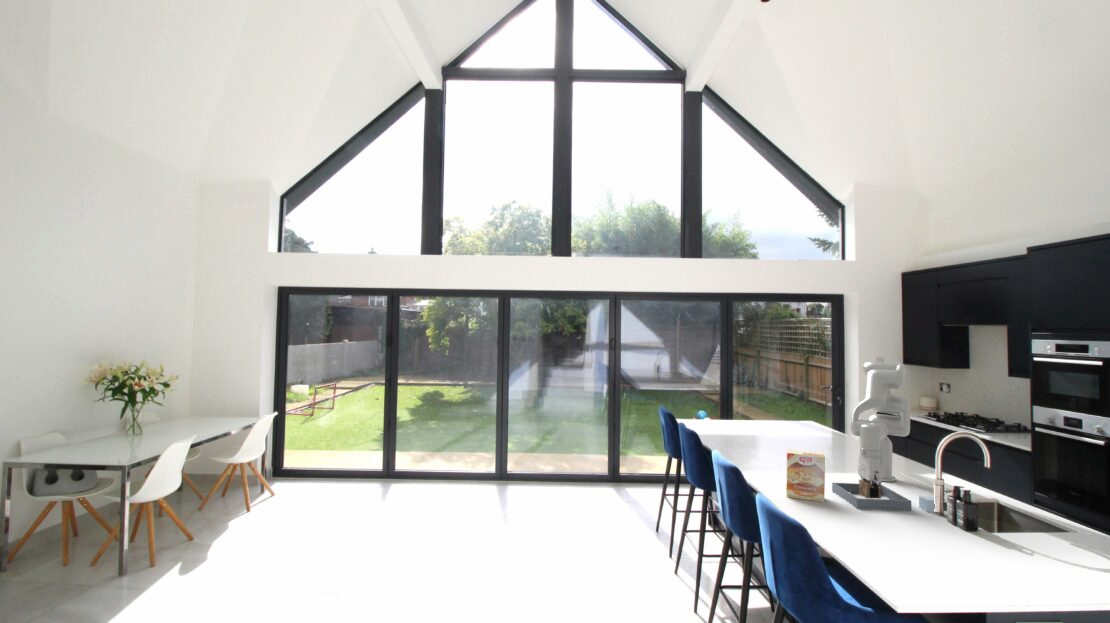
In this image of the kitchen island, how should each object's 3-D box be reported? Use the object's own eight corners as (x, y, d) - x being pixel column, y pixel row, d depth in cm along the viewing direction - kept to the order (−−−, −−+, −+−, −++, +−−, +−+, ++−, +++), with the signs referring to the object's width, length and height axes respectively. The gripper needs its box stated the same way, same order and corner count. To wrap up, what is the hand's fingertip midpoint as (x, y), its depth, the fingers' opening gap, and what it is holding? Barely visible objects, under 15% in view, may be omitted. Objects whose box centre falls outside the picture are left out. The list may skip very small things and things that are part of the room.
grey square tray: (832, 491, 234) (832, 482, 234) (881, 493, 233) (881, 484, 233) (857, 508, 213) (857, 498, 213) (911, 510, 211) (911, 501, 211)
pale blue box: (919, 507, 215) (919, 495, 215) (931, 508, 215) (931, 496, 215) (926, 512, 210) (927, 500, 210) (939, 512, 210) (939, 500, 210)
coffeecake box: (786, 497, 225) (786, 452, 225) (785, 492, 231) (786, 449, 232) (824, 502, 219) (825, 456, 219) (823, 497, 226) (823, 452, 226)
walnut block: (859, 493, 226) (859, 479, 226) (873, 493, 226) (873, 480, 226) (866, 498, 220) (866, 484, 220) (881, 498, 220) (881, 484, 220)
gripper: (851, 447, 232) (850, 487, 232) (872, 457, 215) (871, 501, 214) (868, 448, 231) (867, 488, 231) (890, 458, 214) (890, 501, 214)
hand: (869, 494), depth 223 cm, fingers closed on walnut block, 6 cm apart
